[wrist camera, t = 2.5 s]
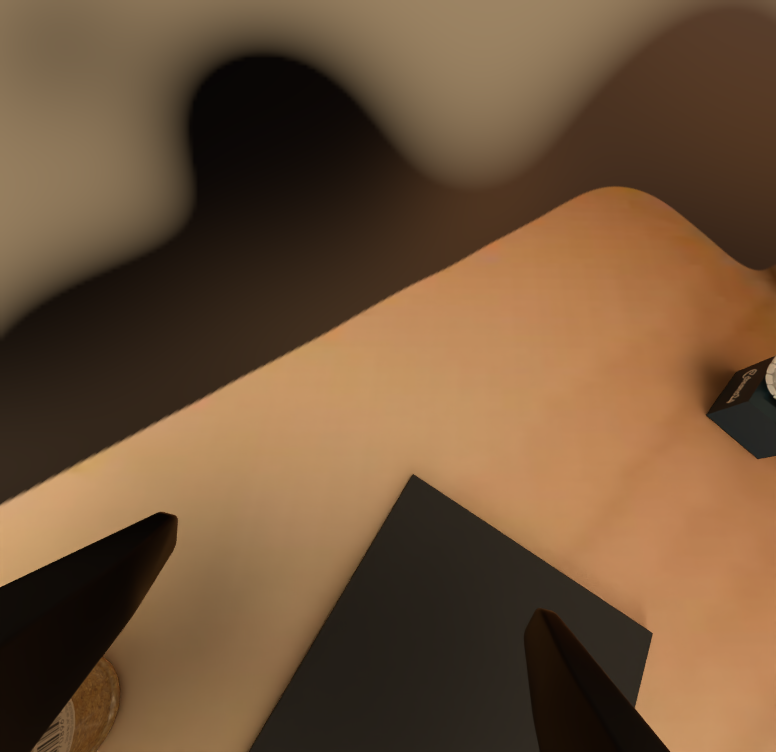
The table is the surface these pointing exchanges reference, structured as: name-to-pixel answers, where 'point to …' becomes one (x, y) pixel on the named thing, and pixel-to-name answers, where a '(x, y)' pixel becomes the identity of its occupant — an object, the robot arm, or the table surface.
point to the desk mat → (440, 642)
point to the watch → (750, 408)
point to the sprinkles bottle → (85, 714)
